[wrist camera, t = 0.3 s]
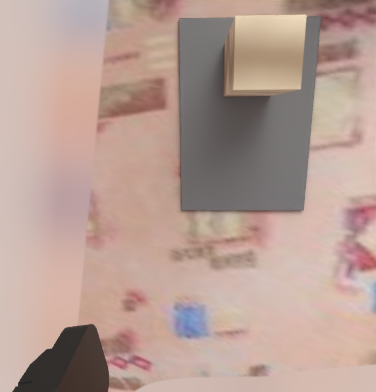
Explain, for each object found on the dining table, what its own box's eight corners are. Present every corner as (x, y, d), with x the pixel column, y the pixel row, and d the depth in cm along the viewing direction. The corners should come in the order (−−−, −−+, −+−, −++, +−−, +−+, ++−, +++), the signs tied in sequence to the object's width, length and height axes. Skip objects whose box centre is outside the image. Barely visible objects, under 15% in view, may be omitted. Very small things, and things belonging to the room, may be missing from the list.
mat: (179, 19, 32) (179, 18, 32) (319, 17, 32) (320, 16, 31) (181, 209, 37) (181, 210, 37) (302, 209, 37) (303, 210, 36)
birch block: (223, 45, 32) (235, 15, 22) (273, 44, 32) (306, 14, 22) (222, 96, 33) (233, 90, 24) (270, 96, 33) (300, 89, 24)
